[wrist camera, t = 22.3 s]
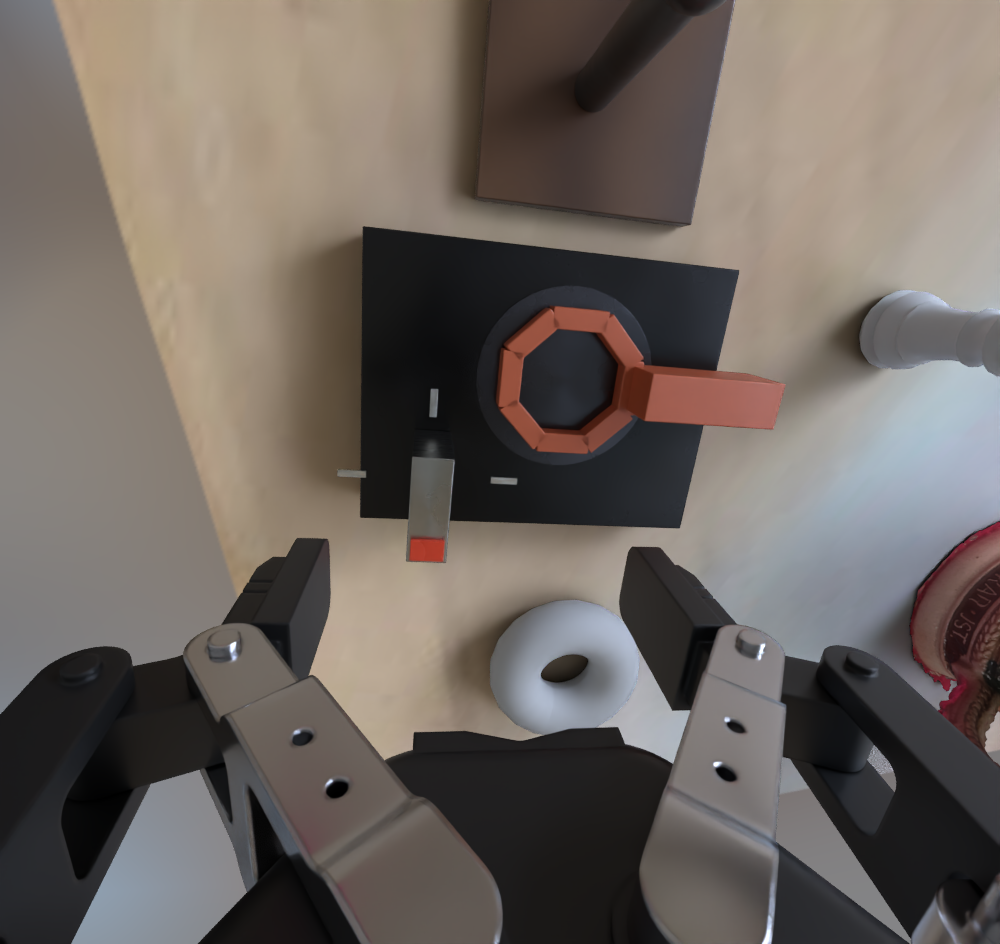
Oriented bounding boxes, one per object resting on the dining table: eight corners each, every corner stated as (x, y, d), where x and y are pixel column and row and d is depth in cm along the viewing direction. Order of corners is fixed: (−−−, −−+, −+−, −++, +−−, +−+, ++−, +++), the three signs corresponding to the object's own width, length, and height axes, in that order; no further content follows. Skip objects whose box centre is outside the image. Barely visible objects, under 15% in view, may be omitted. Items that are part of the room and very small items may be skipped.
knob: (414, 428, 26) (411, 458, 21) (450, 431, 26) (455, 461, 22) (409, 519, 28) (405, 564, 23) (443, 521, 28) (446, 566, 23)
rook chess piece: (938, 318, 31) (1101, 328, 23) (885, 381, 32) (1025, 411, 24) (892, 273, 29) (1050, 269, 22) (838, 341, 30) (972, 358, 23)
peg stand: (728, -10, 24) (1008, -286, 12) (682, 226, 27) (870, 183, 16) (493, -59, 22) (561, -431, 11) (474, 200, 26) (511, 129, 14)
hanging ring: (491, 443, 27) (499, 463, 24) (505, 300, 24) (516, 303, 21) (725, 456, 29) (760, 476, 26) (758, 326, 26) (801, 331, 23)
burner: (666, 295, 25) (667, 295, 25) (633, 468, 28) (634, 469, 28) (484, 275, 24) (484, 275, 24) (469, 460, 27) (469, 460, 27)
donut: (643, 593, 35) (499, 583, 33) (666, 625, 32) (508, 616, 30) (609, 710, 38) (475, 707, 36) (626, 749, 35) (481, 748, 33)
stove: (709, 271, 28) (741, 270, 25) (652, 537, 33) (673, 562, 30) (346, 230, 25) (335, 222, 22) (346, 528, 30) (338, 554, 28)
